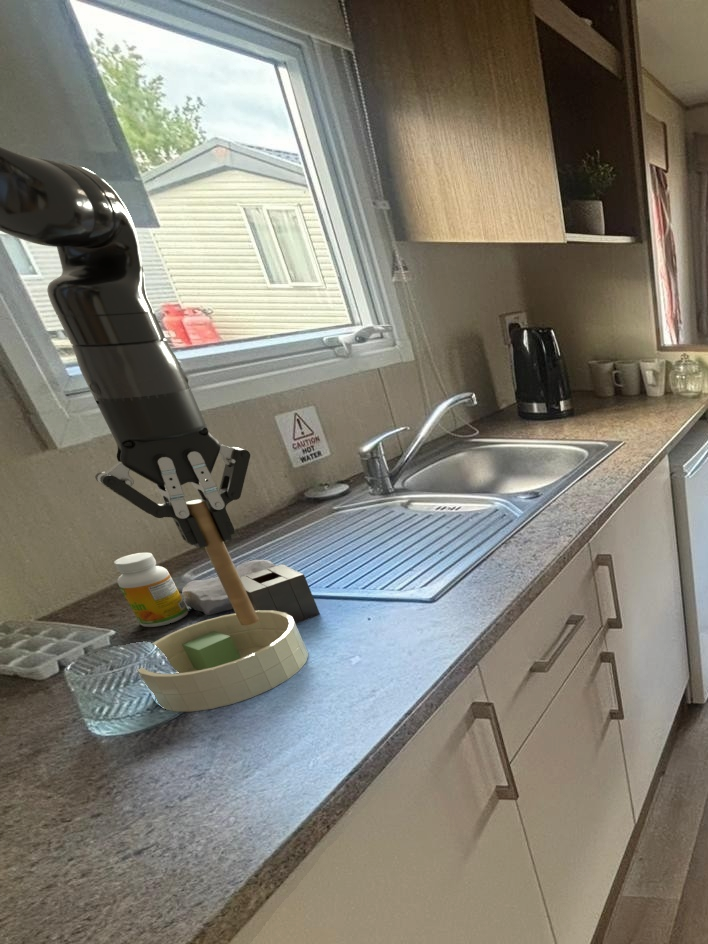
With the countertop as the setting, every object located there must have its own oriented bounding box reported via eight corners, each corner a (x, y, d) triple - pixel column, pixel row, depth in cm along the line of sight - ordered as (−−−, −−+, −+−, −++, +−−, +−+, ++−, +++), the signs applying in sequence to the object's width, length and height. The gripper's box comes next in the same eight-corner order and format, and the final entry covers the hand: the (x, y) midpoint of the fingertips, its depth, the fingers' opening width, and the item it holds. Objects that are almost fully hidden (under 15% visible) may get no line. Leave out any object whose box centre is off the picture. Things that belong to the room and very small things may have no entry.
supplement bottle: (131, 625, 94) (96, 563, 89) (173, 607, 98) (141, 548, 94) (157, 630, 92) (123, 568, 88) (198, 612, 97) (167, 552, 92)
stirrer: (244, 627, 80) (187, 505, 73) (238, 623, 81) (181, 502, 73) (261, 620, 81) (207, 500, 74) (255, 617, 82) (200, 498, 75)
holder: (270, 637, 90) (249, 592, 87) (249, 625, 94) (228, 581, 90) (321, 617, 95) (304, 574, 92) (300, 606, 99) (282, 563, 95)
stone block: (306, 599, 104) (271, 574, 108) (297, 574, 101) (261, 550, 105) (219, 635, 95) (184, 606, 99) (206, 608, 93) (171, 580, 96)
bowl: (186, 732, 73) (162, 691, 70) (137, 689, 80) (114, 651, 77) (332, 666, 84) (317, 629, 81) (277, 634, 91) (262, 600, 88)
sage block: (211, 674, 81) (198, 650, 80) (194, 668, 83) (181, 644, 81) (242, 660, 84) (230, 636, 83) (225, 654, 86) (213, 630, 84)
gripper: (207, 376, 75) (266, 518, 83) (38, 395, 65) (124, 556, 73) (235, 381, 71) (294, 530, 79) (61, 403, 61) (149, 571, 69)
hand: (212, 542), depth 76 cm, fingers closed on stirrer, 2 cm apart
